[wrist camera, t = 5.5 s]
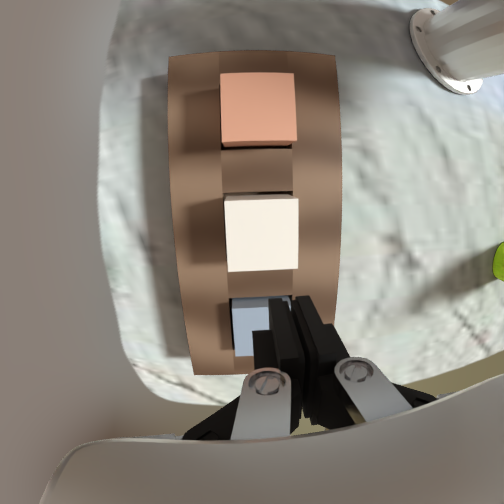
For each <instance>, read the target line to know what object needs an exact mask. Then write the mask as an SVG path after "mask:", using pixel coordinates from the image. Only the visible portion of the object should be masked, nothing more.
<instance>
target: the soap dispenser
mask: <svg viewBox="0 0 504 504" xmlns="http://www.w3.org/2000/svg"><path fill="white" fill-rule="evenodd" d="M493 274H494V276H495V277H496V278H498V279H500V280H502V281H504V242H503V243H502V244H501V245H500V246H499V247H498V249H497V251H496V253H495V256H494V260H493Z"/></svg>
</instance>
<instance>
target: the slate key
mask: <svg viewBox="0 0 504 504" xmlns="http://www.w3.org/2000/svg"><path fill="white" fill-rule="evenodd" d="M270 298H282V300H283V301H288V304H289V308H290V311H291V302H290V299H289V297H288V295H281V296H264V297H243V298H232V316H233V330H234V343H235V356H254V355H253V339H252V331H256V330H269V310H268V299H270Z"/></svg>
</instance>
